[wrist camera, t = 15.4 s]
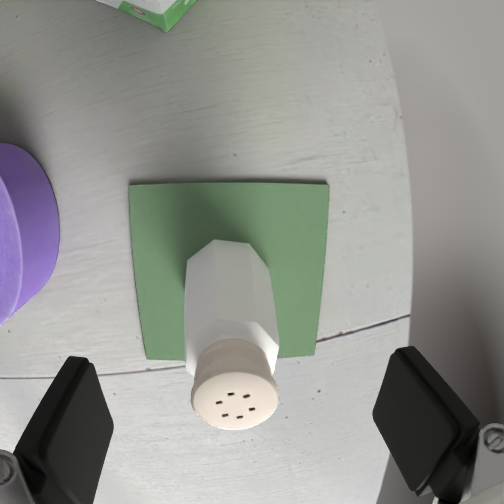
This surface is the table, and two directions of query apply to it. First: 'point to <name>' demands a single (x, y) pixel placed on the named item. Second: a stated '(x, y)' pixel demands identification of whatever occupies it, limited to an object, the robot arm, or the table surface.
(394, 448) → the robot arm
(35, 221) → the tape roll
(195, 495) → the table surface
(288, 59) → the table surface
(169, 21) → the ink box
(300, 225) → the mat
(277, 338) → the pepper shaker
